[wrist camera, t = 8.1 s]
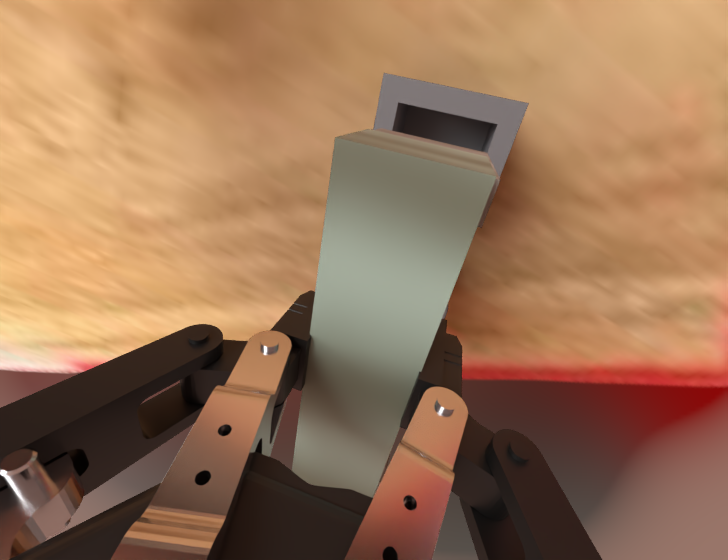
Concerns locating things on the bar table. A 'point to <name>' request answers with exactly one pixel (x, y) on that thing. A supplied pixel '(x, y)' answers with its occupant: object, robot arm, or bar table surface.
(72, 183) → the bar table surface
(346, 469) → the rail
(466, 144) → the grey hollow block
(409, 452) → the robot arm
